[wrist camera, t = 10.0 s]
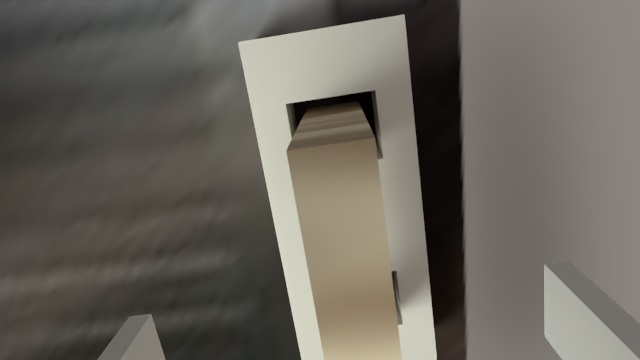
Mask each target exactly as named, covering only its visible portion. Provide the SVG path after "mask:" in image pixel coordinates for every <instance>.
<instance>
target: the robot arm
mask: <svg viewBox="0 0 640 360" xmlns="http://www.w3.org/2000/svg"><path fill="white" fill-rule="evenodd" d="M544 299H545V300H544V313H545V314H544V316H545V319H544V320H545V322H544V324H545V337H546V339H547V340H548V341H549V343H550V344H551V345H552V347H553V348H554V349H555V351H556V352H557V353H558V354H559V356H560V357H561V359H562V360H640V324H639V323H638V322H637V321H636V320H635V319H634V318H633V317H632V316H630V315H629V314H628V313H627V312H626V311H625V310H624V309H622V308H621V307H620V306H619V305H618V304H617V303H616V302H615V301H613V300H612V299H611V298H610V297H609V296H608V295H606V294H605V293H604V292H603V291H602V290H601V289H600V288H599V287H598V286H597V285H595V284H594V283H593V282H592V281H591V280H590V279H589V278H587V277H586V276H585V275H584V274H583V273H582V272H581V271H580V270H578V269H577V268H576V267H575V266H574V265H573V264H572V263H571V262H569V261H563V262H556V263H548V264H544ZM98 360H165V357H164V354H163V351H162V348H161V344H160V341H159V338H158V335H157V332H156V328H155V325H154V322H153V319H152V316H151V314H147V315H139V316H131V317H129V318H128V319H127V321H126V322H125V323H124V325H123V326H122V327H121V329H120V330H119V331H118V333H117V334H116V335H115V337H114V338H113V340H112V341H111V342H110V344H109V345H108V346H107V348H106V349H105V350H104V352H103V353H102V354H101V356H100V357H99V358H98Z"/></svg>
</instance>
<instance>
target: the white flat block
mask: <svg viewBox="0 0 640 360" xmlns="http://www.w3.org/2000/svg"><path fill="white" fill-rule="evenodd" d="M238 45H239V50H240V55H241V60H242V65H243V70H244V75H245V80H246V85H247V90H248V95H249V100H250V105H251V110H252V115H253V120H254V125H255V130H256V135H257V140H258V145H259V150H260V155H261V160H262V165H263V170H264V175H265V180H266V185H267V190H268V195H269V200H270V205H271V210H272V215H273V220H274V225H275V230H276V235H277V240H278V245H279V250H280V255H281V260H282V265H283V270H284V274H285V279H286V284H287V289H288V294H289V299H290V304H291V309H292V314H293V319H294V324H295V329H296V334H297V339H298V344H299V349H300V354H301V359H302V360H324V355H323V350H322V344H321V339H320V333H319V328H318V323H317V317H316V312H315V306H314V301H313V295H312V290H311V284H310V279H309V273H308V268H307V262H306V257H305V251H304V246H303V240H302V235H301V229H300V224H299V218H298V213H297V207H296V202H295V196H294V191H293V186H292V180H291V175H290V169H289V164H288V158H287V153H286V150H287V148H288V146H289V144H290V142H291V140H292V138H293V136H294V134H295V132H296V130H297V128H298V127H297V121H296V116H295V110H294V104H293V103H296V102H302V101H308V100H315V99H321V98H328V97H334V96H341V95H347V94H354V93H360V92H367V91H371V98H372V106H373V115H374V123H375V131H376V140H377V144H376V148H377V157H378V165H379V173H380V182H381V190H382V198H383V206H384V215H385V223H386V231H387V239H388V248H389V256H390V264H391V271H392V273H393V281H394V289H395V292H394V297H395V305H396V314H397V322H398V330H399V338H400V347H401V355H402V360H437V355H436V344H435V334H434V323H433V312H432V302H431V291H430V280H429V270H428V259H427V248H426V238H425V227H424V216H423V206H422V195H421V184H420V174H419V163H418V152H417V142H416V131H415V120H414V109H413V99H412V88H411V77H410V67H409V56H408V45H407V35H406V24H405V14H404V15H398V16H392V17H386V18H380V19H374V20H368V21H362V22H356V23H350V24H344V25H338V26H332V27H326V28H320V29H314V30H308V31H302V32H296V33H290V34H284V35H278V36H272V37H266V38H260V39H254V40H248V41H242V42H238Z"/></svg>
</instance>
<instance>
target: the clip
mask: <svg viewBox="0 0 640 360" xmlns="http://www.w3.org/2000/svg"><path fill="white" fill-rule="evenodd" d="M286 153H287V158H288V164H289V169H290V175H291V180H292V186H293V191H294V196H295V202H296V207H297V213H298V218H299V224H300V229H301V235H302V240H303V246H304V251H305V257H306V262H307V268H308V273H309V279H310V284H311V290H312V295H313V301H314V306H315V312H316V317H317V323H318V328H319V333H320V339H321V344H322V350H323V355H324V360H402V355H401V347H400V338H399V330H398V322H397V314H396V305H395V297H394V289H393V281H392V272H391V264H390V256H389V248H388V239H387V231H386V223H385V215H384V206H383V198H382V190H381V182H380V173H379V165H378V157H377V148H376V140H375V136H374V134H373V132H372V130H371V128H370V125H369V123H368V121H367V119H366V117H365V115H364V112H363V110H362V108H361V106H360V104H359V102H358V101H353V102H346V103H340V104H333V105H327V106H320V107H314V108H307V109H306V111H305V113H304V115H303V117H302V119H301V121H300V123H299V126H298V128H297V130H296V132H295V134H294V136H293V138H292V140H291V142H290V144H289V146H288V148H287V150H286Z"/></svg>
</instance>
